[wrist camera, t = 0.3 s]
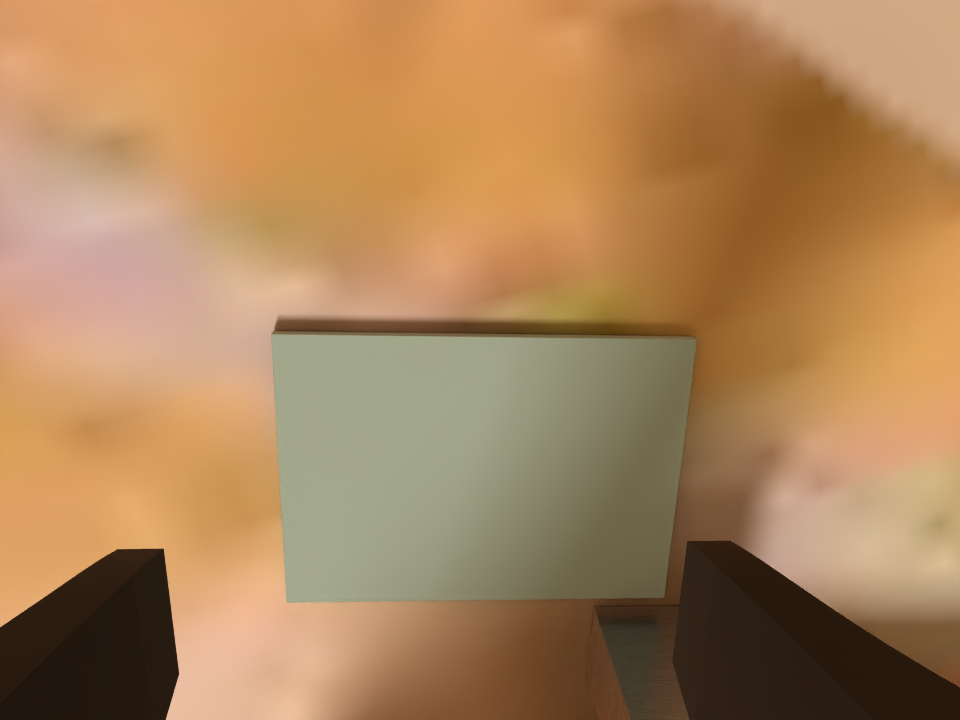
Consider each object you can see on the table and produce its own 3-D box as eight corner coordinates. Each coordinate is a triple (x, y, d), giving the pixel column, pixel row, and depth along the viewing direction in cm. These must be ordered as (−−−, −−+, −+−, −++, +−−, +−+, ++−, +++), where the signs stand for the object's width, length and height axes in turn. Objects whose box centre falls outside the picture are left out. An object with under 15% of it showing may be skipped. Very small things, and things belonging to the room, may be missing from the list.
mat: (661, 591, 23) (664, 598, 22) (288, 595, 22) (286, 602, 22) (693, 336, 20) (697, 339, 20) (273, 331, 19) (271, 334, 19)
